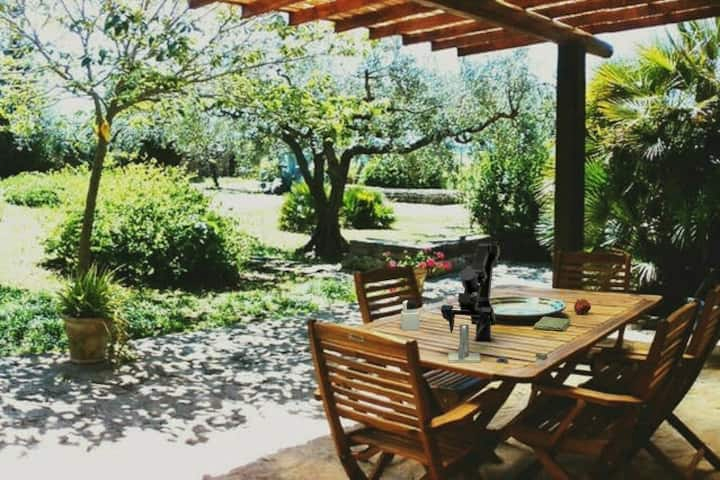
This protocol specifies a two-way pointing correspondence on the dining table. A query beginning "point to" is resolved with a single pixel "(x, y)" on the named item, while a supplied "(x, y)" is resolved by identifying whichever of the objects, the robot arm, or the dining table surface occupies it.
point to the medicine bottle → (410, 316)
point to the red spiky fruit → (582, 306)
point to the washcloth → (552, 324)
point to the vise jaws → (502, 359)
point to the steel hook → (464, 342)
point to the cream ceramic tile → (472, 358)
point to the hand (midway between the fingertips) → (463, 333)
